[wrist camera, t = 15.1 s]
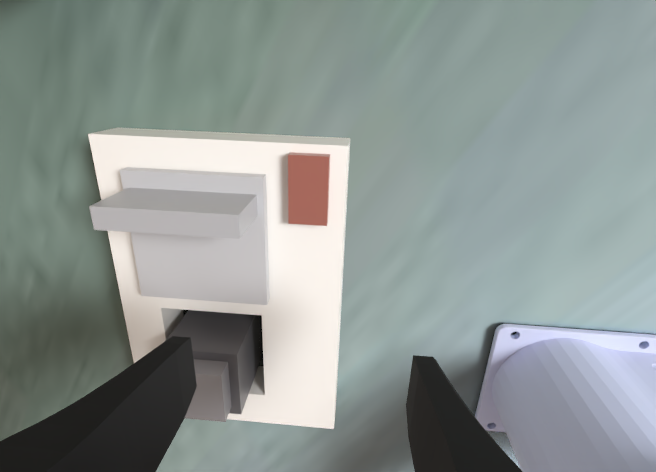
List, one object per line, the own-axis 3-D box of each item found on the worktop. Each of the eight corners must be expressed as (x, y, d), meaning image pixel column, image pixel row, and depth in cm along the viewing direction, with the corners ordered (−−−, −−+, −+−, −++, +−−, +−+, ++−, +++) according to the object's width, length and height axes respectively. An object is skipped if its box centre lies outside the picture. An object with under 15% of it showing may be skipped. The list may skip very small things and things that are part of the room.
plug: (259, 305, 24) (230, 368, 18) (261, 358, 25) (235, 429, 20) (195, 301, 24) (149, 361, 19) (201, 353, 25) (160, 422, 20)
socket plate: (350, 138, 19) (348, 148, 16) (336, 398, 26) (333, 437, 23) (118, 127, 20) (79, 135, 17) (161, 383, 26) (138, 418, 24)
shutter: (265, 174, 18) (245, 195, 15) (269, 298, 20) (252, 339, 17) (126, 167, 18) (77, 186, 15) (147, 290, 21) (109, 328, 17)
